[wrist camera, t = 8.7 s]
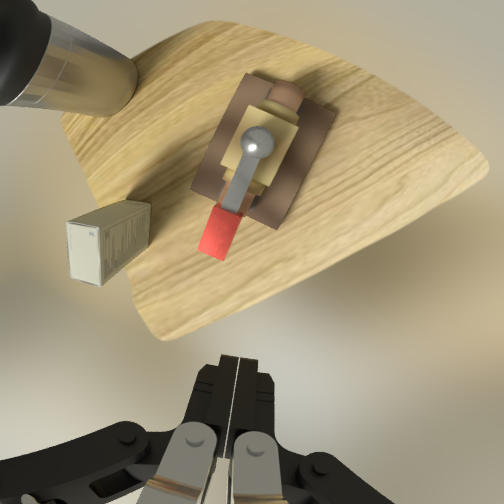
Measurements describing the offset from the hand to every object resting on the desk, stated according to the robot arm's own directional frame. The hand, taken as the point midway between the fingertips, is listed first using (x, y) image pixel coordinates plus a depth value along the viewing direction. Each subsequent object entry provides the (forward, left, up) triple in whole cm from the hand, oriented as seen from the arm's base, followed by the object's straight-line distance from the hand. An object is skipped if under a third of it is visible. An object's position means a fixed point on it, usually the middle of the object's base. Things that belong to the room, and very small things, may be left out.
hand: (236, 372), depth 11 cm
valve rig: (-4, +9, -24) cm, 25 cm away
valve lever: (-4, +4, -15) cm, 16 cm away
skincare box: (-15, -6, -24) cm, 29 cm away
